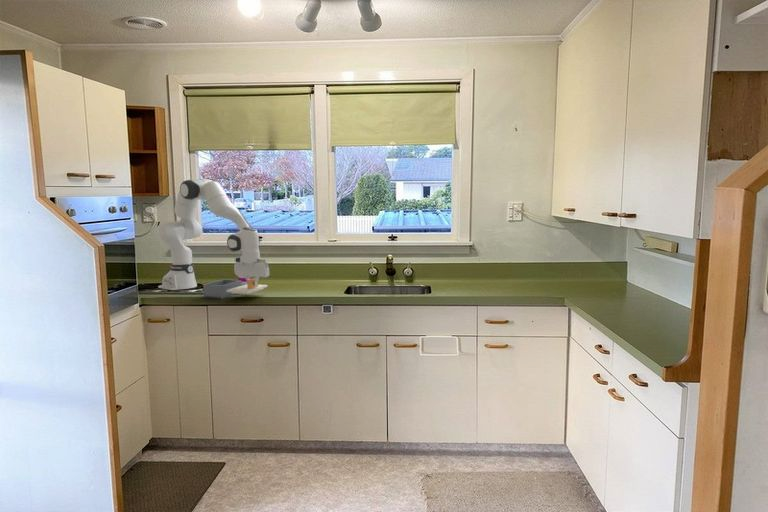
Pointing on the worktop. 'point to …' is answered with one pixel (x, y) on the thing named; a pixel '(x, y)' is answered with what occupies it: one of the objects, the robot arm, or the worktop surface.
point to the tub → (220, 288)
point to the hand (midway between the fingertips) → (252, 284)
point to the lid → (247, 288)
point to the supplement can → (243, 280)
